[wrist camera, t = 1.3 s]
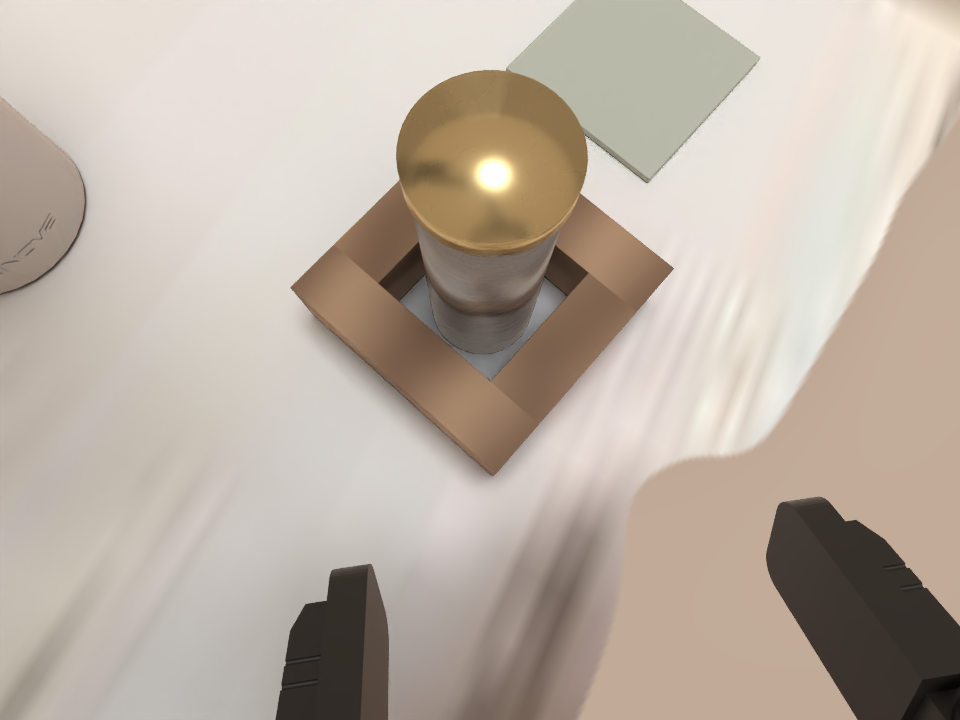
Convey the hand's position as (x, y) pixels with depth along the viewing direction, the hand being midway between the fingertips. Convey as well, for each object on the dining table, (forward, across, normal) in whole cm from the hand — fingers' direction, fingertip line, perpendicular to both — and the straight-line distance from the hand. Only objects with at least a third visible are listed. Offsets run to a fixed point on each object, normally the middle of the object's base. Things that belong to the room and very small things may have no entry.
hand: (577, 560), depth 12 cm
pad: (+28, -10, -4) cm, 31 cm away
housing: (+20, 0, +4) cm, 20 cm away
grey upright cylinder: (+20, 0, +4) cm, 20 cm away
